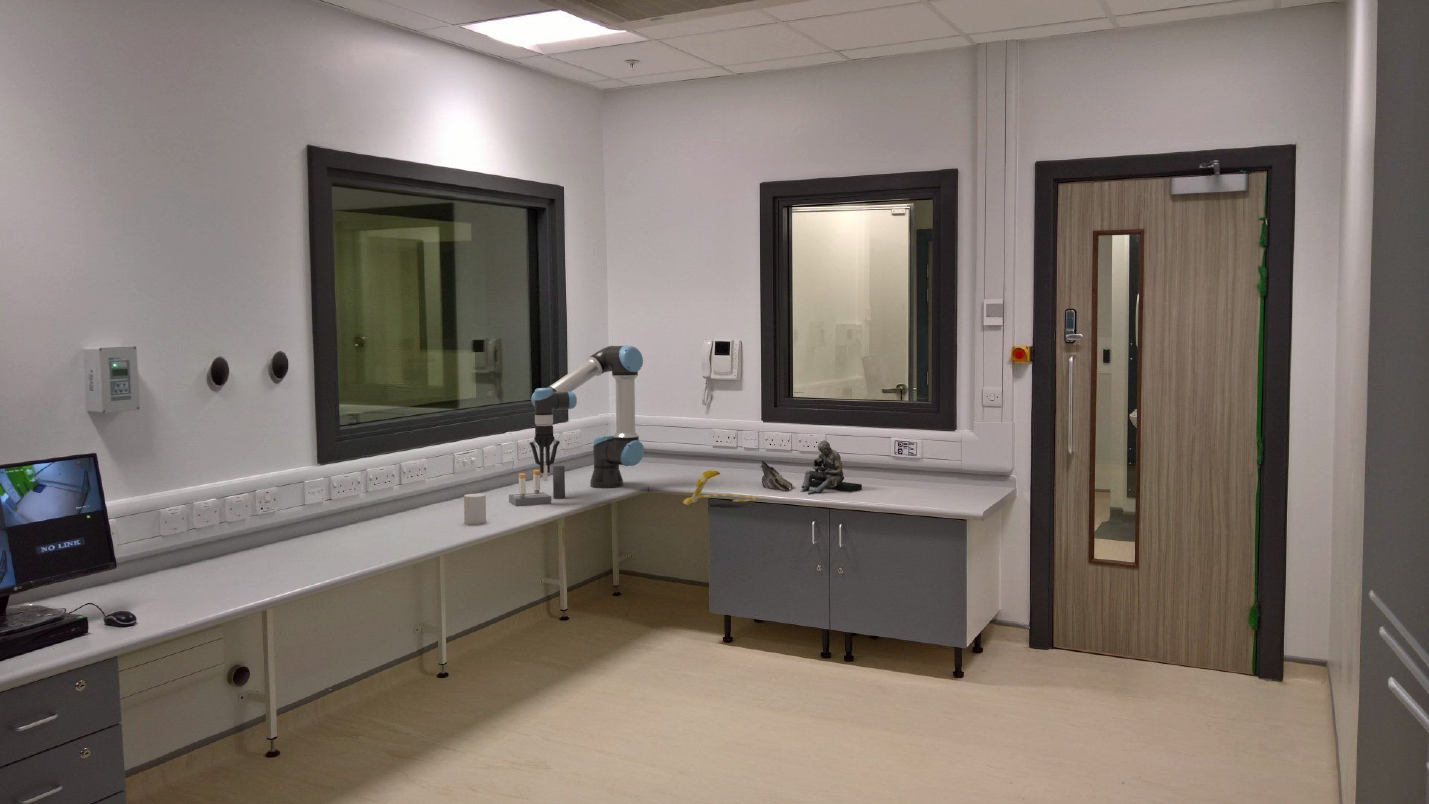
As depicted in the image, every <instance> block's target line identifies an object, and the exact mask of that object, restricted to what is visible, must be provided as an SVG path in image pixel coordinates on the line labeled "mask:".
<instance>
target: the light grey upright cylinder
mask: <svg viewBox="0 0 1429 804" xmlns="http://www.w3.org/2000/svg"><path fill="white" fill-rule="evenodd" d="M486 496H487V495H486V494H485V493H467V494H464V496H463V508H464V509H463V512H464V513H463V516H464V524H466V525H479V524H484V523H486V522H487V497H486Z"/></svg>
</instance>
